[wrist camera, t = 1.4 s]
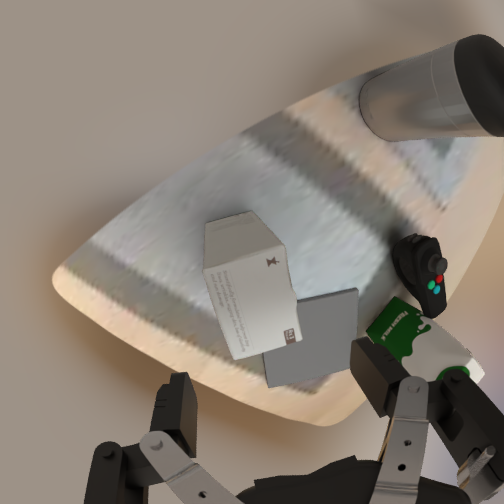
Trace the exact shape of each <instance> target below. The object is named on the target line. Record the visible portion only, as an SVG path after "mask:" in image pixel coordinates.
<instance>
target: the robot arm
mask: <svg viewBox="0 0 504 504" xmlns="http://www.w3.org/2000/svg"><path fill="white" fill-rule="evenodd" d="M359 101H360V109H361V113H362V115H363V118H364V120H365V122H366V123H367V125H368V126H369V128H370V129H371V130H372V131H373V132H374V133H375V134H376V135H377V136H379V137H380V138H382V139H384V140H387V141H391V142H398V141H408V140H421V139H435V138H452V137H481V136H496V137H504V47H503V46H502V45H501V44H499V43H498V42H497V41H496V40H494V39H493V38H491V37H489V36H486V35H481V34H478V35H472V36H469V37H466V38H463V39H461V40H458V41H455V42H453V43H450V44H448V45H445V46H443V47H440V48H438V49H435V50H433V51H431V52H428V53H426V54H424V55H421V56H419V57H417V58H414V59H412V60H410V61H408V62H406V63H404V64H401V65H399V66H397V67H395V68H393V69H391V70H389V71H387V72H385V73H382V74H381V75H379V76H377V77H375V78H373V79H371V80H369V81H368V82H367V83H365V85H364V86H363V88H362V90H361V93H360V99H359ZM350 370H351V373H352V375H353V377H354V378H355V380H356V381H357V383H358V384H359V386H360V387H361V389H362V391H363V392H364V394H365V395H366V397H367V398H368V400H369V402H370V403H371V405H372V406H373V408H374V410H375V411H376V412H377V414H378V416H379V417H380V418H381V417H384V416H386V415H388V416H389V418H390V419H389V422H388V426H387V430H386V434H385V438H384V441H383V445H382V448H381V451H380V454H379V457H378V460H377V461H374V460H357V459H356V457H355V455H353V456H351V457H347V458H344V459H341V460H338V461H336V462H332V463H330V464H328V465H326V466H324V467H322V468H320V469H318V470H317V471H315V472H313V473H311V474H308V475H292V476H291V475H290V476H275V477H269V478H263V479H257V480H254V483H255V486H252V487H250V488H248V489H246V490H244V491H242V492H241V493H239V494H238V495H237V496H234V495H233V494H231V493H230V492H229V491H228V490H227V489H225V488H224V487H223V486H222V485H221V484H220V483H218V482H217V481H216V480H215V479H214V478H213V477H212V476H211V475H210V474H209V473H208V472H206V471H205V470H204V469H203V468H202V467H201V466H200V465H199V464H197V463H194V462H193V461H192V460H191V459H190V458H196V440H197V438H196V437H197V397H196V394H195V391H194V388H193V385H192V383H191V380H190V377H189V375H188V373H187V372H181V373H172V374H171V378H170V383H169V384H163V385H162V386H161V388H160V389H159V390H158V392H157V396H156V401H155V406H154V407H155V408H154V411H153V416H152V421H151V426H150V431H149V433H147V434H145V435H144V436H143V437H142V439H141V440H140V443H138V444H134V445H130V446H126V447H121V446H120V445H119V444H117V443H115V442H111V441H110V442H109V441H108V442H104V443H101V444H100V445H99V446H97V448H96V449H95V451H94V455H93V460H92V463H91V468H90V473H89V477H88V483H87V488H86V494H85V499H84V504H148V489H149V485H154V484H158V483H162V482H166V484H167V485H168V486H169V487H170V488H171V490H172V491H173V492H174V493H175V494H176V495H177V496H178V498H180V500H181V501H182V502H183V503H184V504H479V503H480V502H482V501H483V500H488V499H490V498H491V497H493V496H494V495H495V494H497V493H498V492H499V491H500V490H501V489H502V488H504V415H503V414H502V413H501V411H500V410H499V409H498V408H497V407H496V406H495V404H494V403H493V402H492V401H491V400H490V399H489V398H488V397H487V396H486V394H485V393H484V392H483V391H482V390H481V389H480V388H479V387H478V386H477V384H476V383H475V382H474V381H473V380H472V379H471V378H470V377H469V376H468V375H467V374H466V373H465V372H464V371H462V370H460V369H450V370H448V371H446V372H445V373H444V375H443V378H442V379H440V380H435V381H429V382H427V381H426V380H425V379H423V378H421V377H418V376H411V375H410V374H409V373H408V371H407V370H406V369H405V368H404V367H403V366H402V365H401V364H400V362H399V361H398V360H397V359H396V358H395V357H394V356H393V355H392V354H391V352H390V351H389V350H388V349H387V348H386V347H385V346H383V345H381V344H379V343H375V344H373V343H372V341H371V340H370V339H369V338H368V337H367V336H365V337H362V338H358V339H355V340H352V342H351V352H350ZM429 423H431V425H432V426H433V428H434V429H435V430H436V432H437V434H438V435H439V437H440V438H441V440H442V442H443V443H444V445H445V446H446V448H447V449H448V451H449V452H450V454H451V456H452V457H453V459H454V460H455V462H456V463H457V465H458V467H459V470H458V472H457V480H458V482H457V483H458V486H459V487H456V486H453V485H449V484H445V483H442V482H438V481H434V480H431V479H428V478H425V477H422V476H420V473H421V469H422V464H423V458H424V453H425V447H426V439H427V433H428V424H429Z"/></svg>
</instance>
